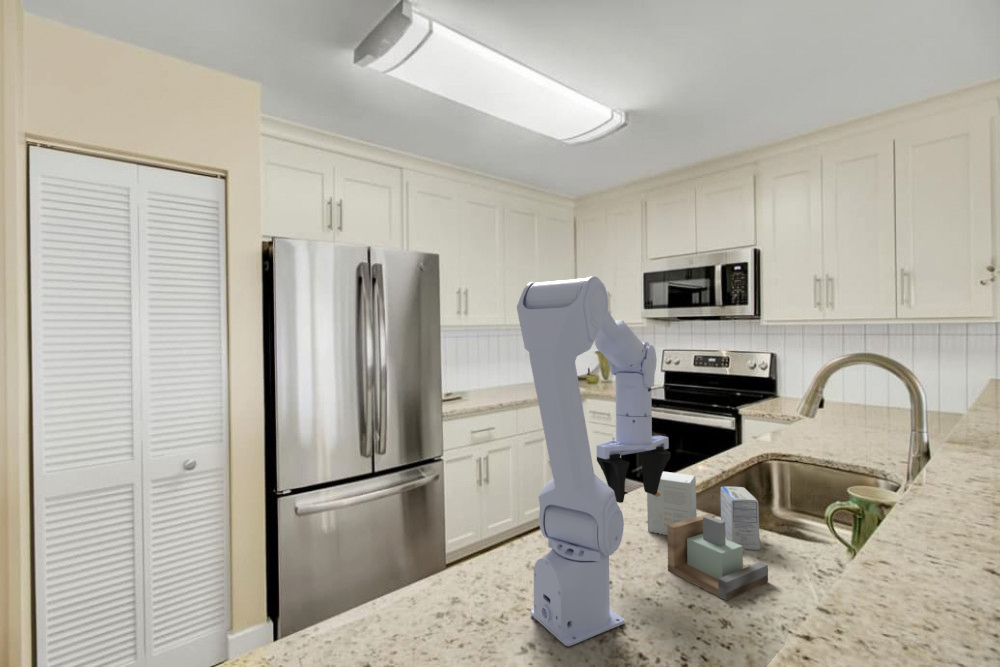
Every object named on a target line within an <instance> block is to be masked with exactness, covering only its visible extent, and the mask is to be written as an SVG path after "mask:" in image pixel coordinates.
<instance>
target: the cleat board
mask: <svg viewBox="0 0 1000 667" xmlns="http://www.w3.org/2000/svg"><path fill="white" fill-rule="evenodd" d="M704 516H711V517H713V518H716V517H715V515H713V514H710V513H706V514H703V515H699V516H697V517H695V518H691V519H688V520H685V521H681V522H678V523H674V524H671V525H667V530H668V536H667V571H668V572H670V573H673V574H674V575H677V576H678V577H680V578H682V579H683V580H686V581H687V582H690V583H692V584H693V585H696V586H698V587H699V588H701V589H704V590H706V591H707V592H709V593H711V594H712V595H715V596H716V597H719V598H721V599H723V600H724V601H729V600H731V599H733V598H736V597H737V596H740V595H742V594H744V593H746V592H748V591H751V590H753V589H755V588H757V587H760V586H762V585H764V584H766V583H769V565H768V564H766V563H764V562H762V561H759V562H756V563H754V564H751V565H749V566H748V565H745V564H743V569H741V570H738V571H736V572H734V573H731V574H729V575H726V576H724V577H721V578H719V579H717V578H715V577H713V576H711V575H709V574H707V573H704V572H702V571H700V570H698V569H696V568H694V567H692V566H690V565H688V564H687V538H690V537H694V536H697V535H700V534H703V517H704Z"/></svg>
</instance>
